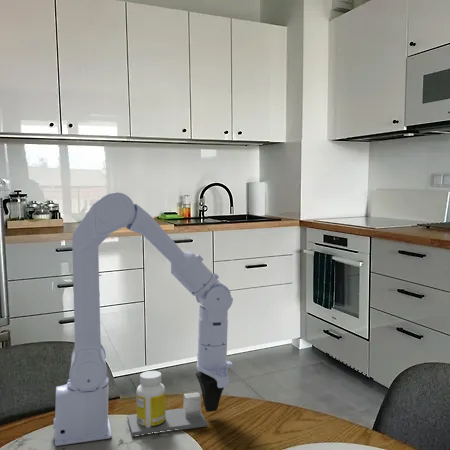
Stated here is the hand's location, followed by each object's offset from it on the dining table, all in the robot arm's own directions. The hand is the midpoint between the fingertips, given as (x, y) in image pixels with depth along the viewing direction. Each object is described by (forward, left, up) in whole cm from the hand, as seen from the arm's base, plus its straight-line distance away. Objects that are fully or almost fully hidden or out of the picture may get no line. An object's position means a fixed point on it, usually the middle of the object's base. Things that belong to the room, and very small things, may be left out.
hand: (210, 409), depth 89 cm
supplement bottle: (-12, 0, -2) cm, 12 cm away
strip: (-9, 0, -2) cm, 9 cm away
